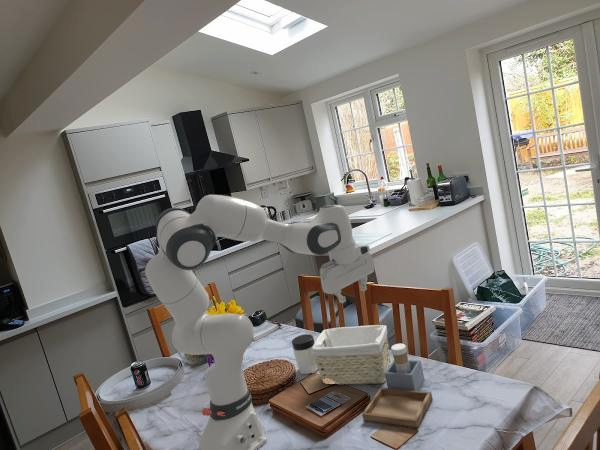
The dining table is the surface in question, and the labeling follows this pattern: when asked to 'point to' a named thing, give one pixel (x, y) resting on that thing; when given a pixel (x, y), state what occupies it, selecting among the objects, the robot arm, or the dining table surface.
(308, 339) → the jar
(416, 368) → the blue-grey square bin
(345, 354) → the storage basket
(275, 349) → the dining table surface
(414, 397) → the tray
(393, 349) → the sprinkles bottle
